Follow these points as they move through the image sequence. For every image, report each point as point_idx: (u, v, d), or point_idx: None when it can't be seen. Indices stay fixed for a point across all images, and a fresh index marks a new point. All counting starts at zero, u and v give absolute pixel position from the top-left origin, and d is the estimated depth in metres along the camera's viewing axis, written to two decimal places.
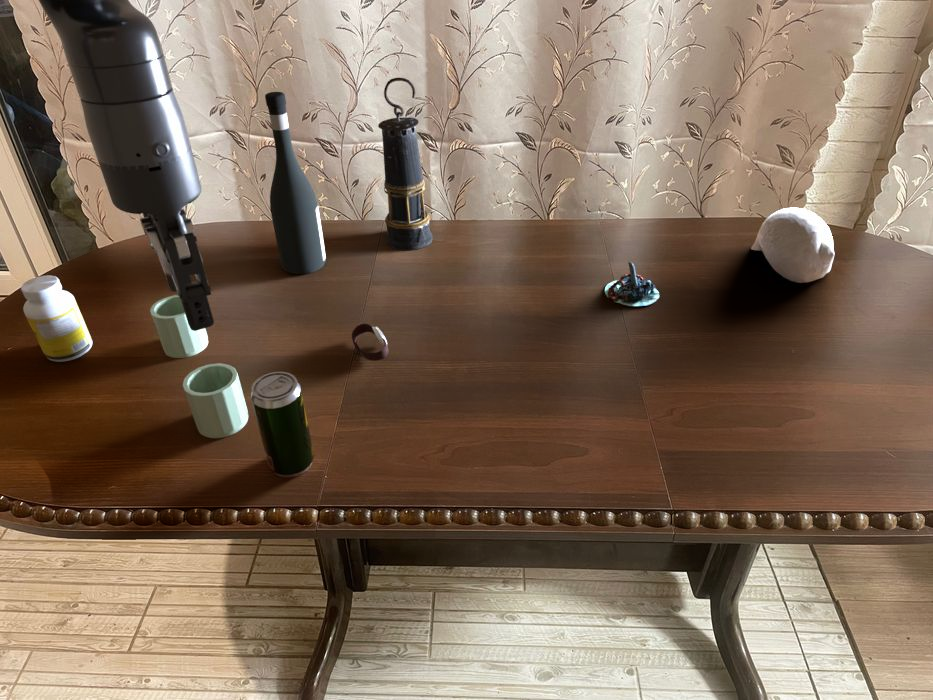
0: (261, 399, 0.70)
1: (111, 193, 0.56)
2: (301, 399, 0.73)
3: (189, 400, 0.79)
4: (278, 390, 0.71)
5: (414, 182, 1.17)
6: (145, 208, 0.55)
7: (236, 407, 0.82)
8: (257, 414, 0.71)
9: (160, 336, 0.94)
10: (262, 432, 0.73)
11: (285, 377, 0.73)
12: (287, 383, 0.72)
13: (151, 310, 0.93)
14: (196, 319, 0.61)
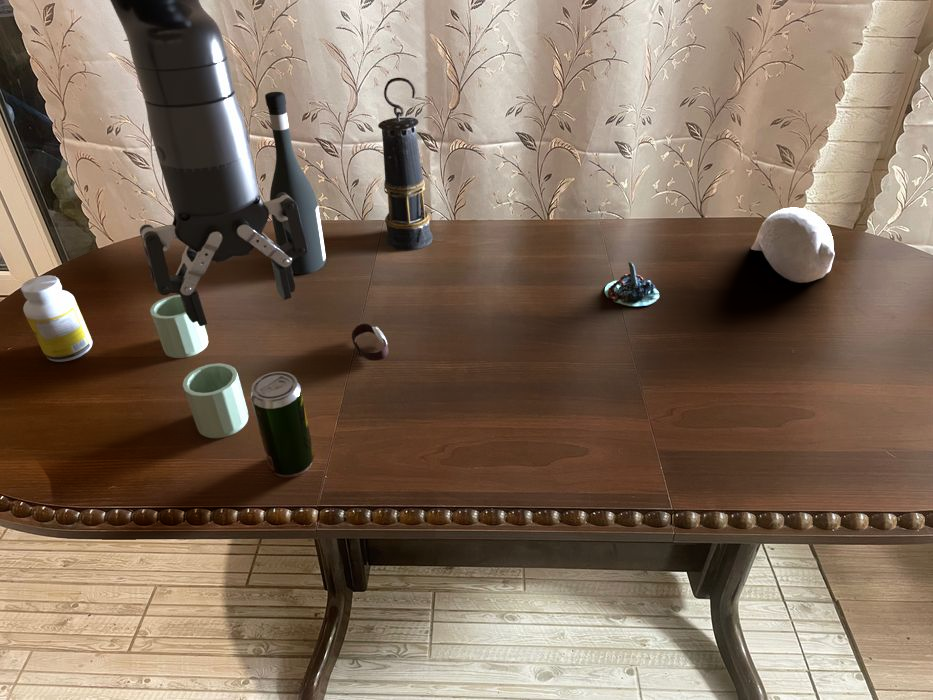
0: (261, 399, 0.70)
1: None
2: (301, 399, 0.73)
3: (189, 400, 0.79)
4: (278, 390, 0.71)
5: (414, 182, 1.17)
6: None
7: (236, 407, 0.82)
8: (257, 414, 0.71)
9: (160, 336, 0.94)
10: (262, 432, 0.73)
11: (285, 377, 0.73)
12: (287, 383, 0.72)
13: (151, 310, 0.93)
14: None
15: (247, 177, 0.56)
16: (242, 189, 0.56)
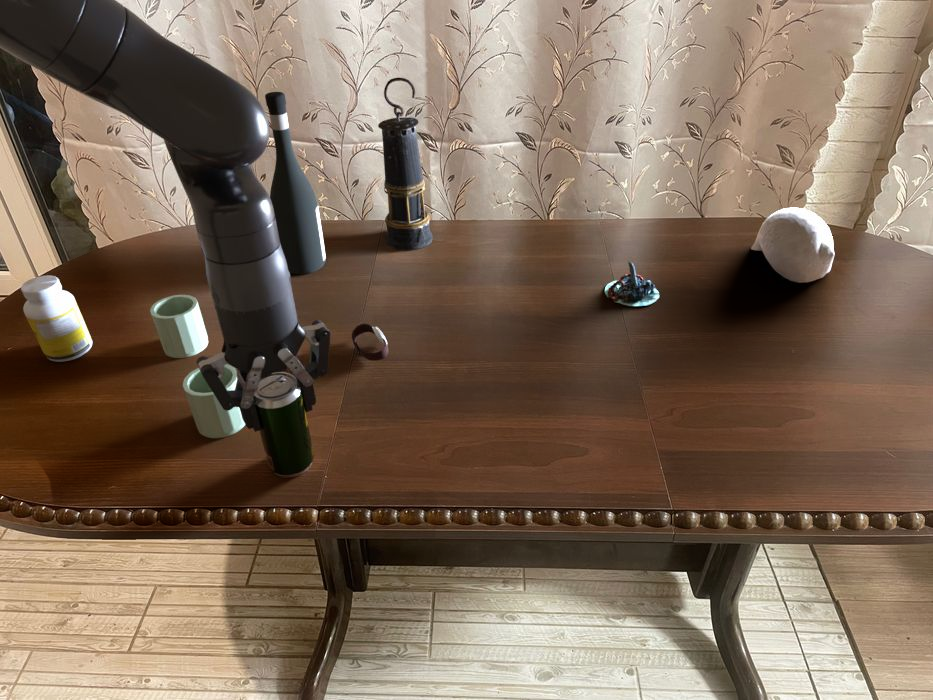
0: (261, 399, 0.70)
1: None
2: (301, 399, 0.73)
3: (189, 400, 0.79)
4: (278, 390, 0.71)
5: (414, 182, 1.17)
6: None
7: (236, 407, 0.82)
8: None
9: (160, 336, 0.94)
10: (262, 432, 0.73)
11: (285, 377, 0.73)
12: (287, 383, 0.72)
13: (151, 310, 0.93)
14: (242, 417, 0.72)
15: (288, 312, 0.65)
16: (284, 323, 0.64)
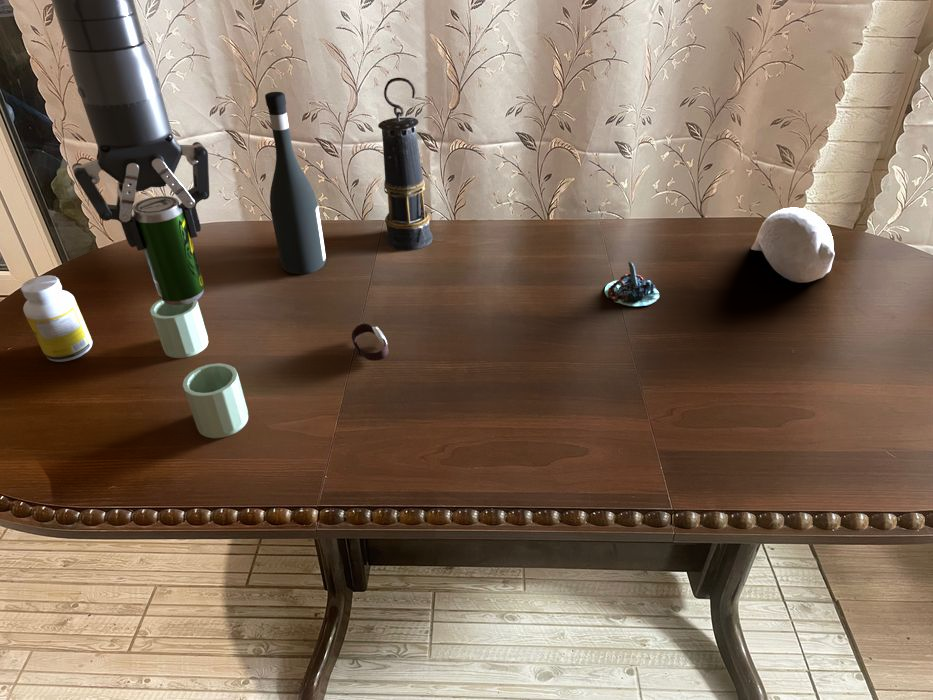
0: (140, 214, 0.72)
1: None
2: (183, 220, 0.75)
3: (189, 400, 0.79)
4: (158, 207, 0.74)
5: (414, 182, 1.17)
6: None
7: (236, 407, 0.82)
8: (139, 232, 0.74)
9: (160, 336, 0.94)
10: (146, 253, 0.76)
11: (168, 199, 0.76)
12: (168, 204, 0.75)
13: (151, 310, 0.93)
14: None
15: (157, 116, 0.67)
16: (152, 125, 0.67)
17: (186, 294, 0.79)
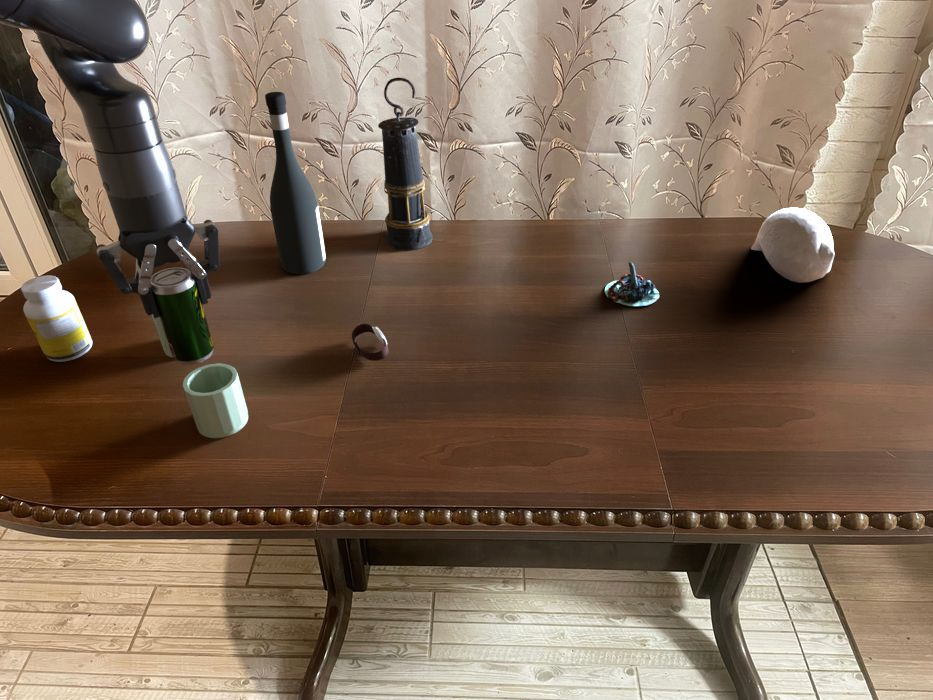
0: (157, 287, 0.80)
1: None
2: (195, 290, 0.83)
3: (189, 400, 0.79)
4: (173, 280, 0.81)
5: (414, 182, 1.17)
6: None
7: (236, 407, 0.82)
8: (155, 302, 0.82)
9: (160, 336, 0.94)
10: (161, 320, 0.83)
11: (181, 271, 0.83)
12: (182, 276, 0.82)
13: None
14: None
15: (173, 203, 0.75)
16: (169, 212, 0.74)
17: (198, 355, 0.86)
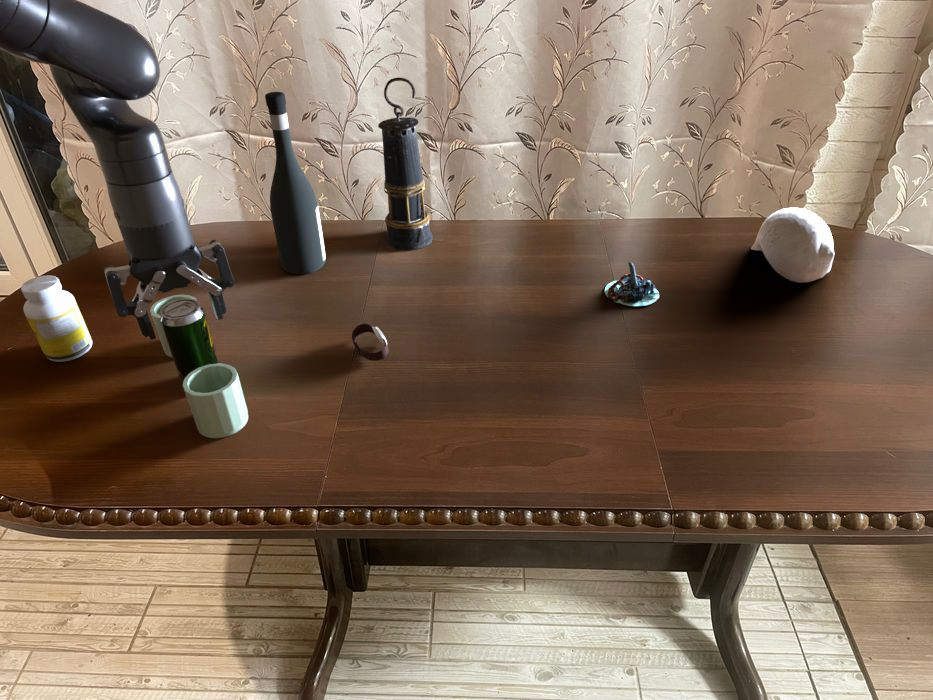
0: (167, 319, 0.83)
1: None
2: (204, 321, 0.85)
3: (189, 400, 0.79)
4: (182, 312, 0.84)
5: (414, 182, 1.17)
6: None
7: (236, 407, 0.82)
8: (165, 333, 0.84)
9: (160, 336, 0.94)
10: (171, 349, 0.86)
11: (190, 302, 0.86)
12: (191, 307, 0.85)
13: (151, 310, 0.93)
14: None
15: (182, 232, 0.77)
16: (178, 241, 0.77)
17: None
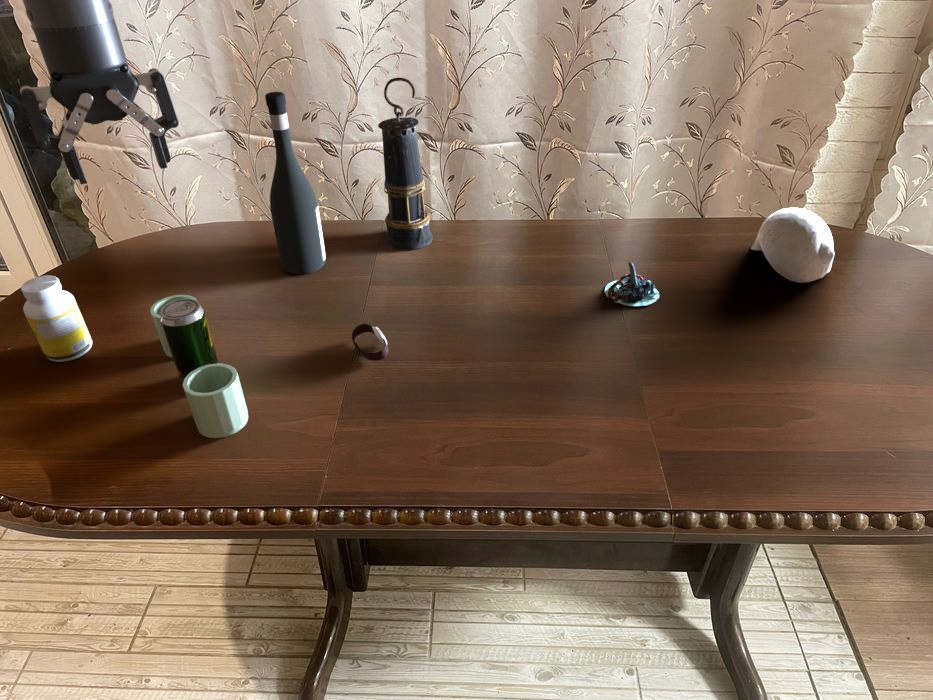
0: (167, 319, 0.83)
1: None
2: (204, 321, 0.85)
3: (189, 400, 0.79)
4: (182, 312, 0.84)
5: (414, 182, 1.17)
6: None
7: (236, 407, 0.82)
8: (165, 333, 0.84)
9: (160, 336, 0.94)
10: (171, 349, 0.86)
11: (190, 302, 0.86)
12: (191, 307, 0.85)
13: (151, 310, 0.93)
14: None
15: (109, 43, 0.66)
16: (104, 52, 0.65)
17: None
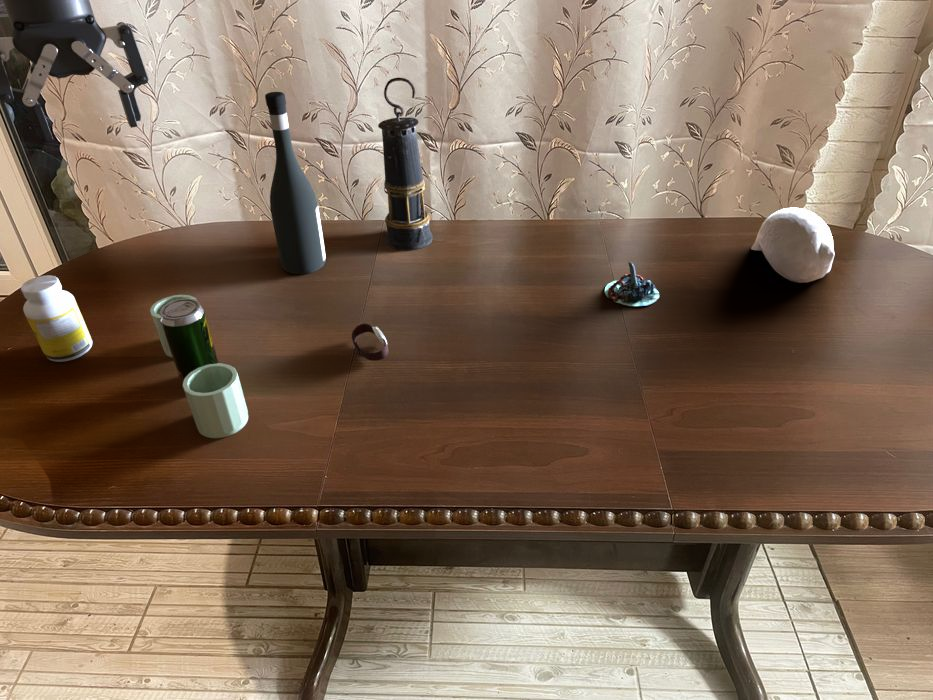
0: (167, 318, 0.83)
1: None
2: (204, 321, 0.85)
3: (189, 400, 0.79)
4: (182, 312, 0.84)
5: (414, 182, 1.17)
6: None
7: (236, 407, 0.82)
8: (165, 333, 0.84)
9: (160, 336, 0.94)
10: (171, 349, 0.86)
11: (190, 302, 0.86)
12: (191, 307, 0.85)
13: (151, 310, 0.93)
14: None
15: None
16: (68, 0, 0.63)
17: None
